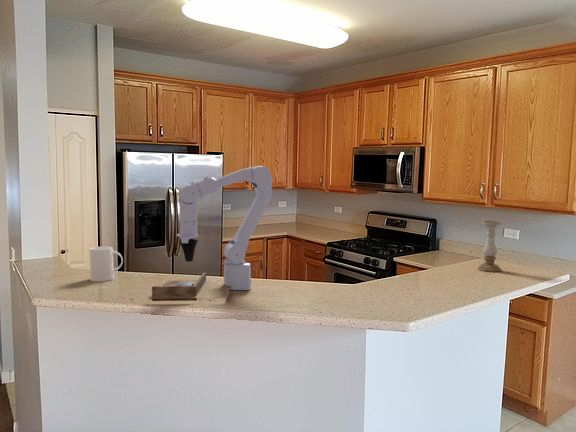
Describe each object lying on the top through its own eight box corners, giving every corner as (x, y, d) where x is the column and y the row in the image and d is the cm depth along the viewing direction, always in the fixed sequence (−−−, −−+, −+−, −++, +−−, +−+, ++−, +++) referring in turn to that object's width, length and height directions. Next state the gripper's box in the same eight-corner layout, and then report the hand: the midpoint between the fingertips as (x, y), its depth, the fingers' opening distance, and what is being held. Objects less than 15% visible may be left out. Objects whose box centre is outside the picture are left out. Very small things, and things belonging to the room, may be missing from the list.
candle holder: (504, 272, 184) (507, 222, 183) (483, 272, 185) (485, 222, 183) (495, 267, 193) (497, 220, 191) (474, 267, 193) (476, 220, 191)
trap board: (206, 284, 164) (205, 272, 163) (196, 300, 143) (195, 286, 143) (167, 284, 163) (167, 272, 163) (152, 300, 143) (151, 286, 142)
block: (193, 291, 149) (193, 282, 149) (191, 294, 145) (191, 285, 144) (180, 291, 149) (179, 282, 149) (177, 294, 145) (176, 285, 144)
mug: (125, 275, 178) (124, 245, 177) (120, 280, 169) (119, 249, 168) (93, 276, 176) (92, 246, 175) (87, 282, 167) (86, 250, 166)
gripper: (181, 219, 159) (181, 257, 161) (171, 223, 145) (172, 265, 146) (201, 219, 160) (201, 257, 161) (193, 223, 145) (194, 265, 146)
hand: (189, 261), depth 154 cm, fingers closed
